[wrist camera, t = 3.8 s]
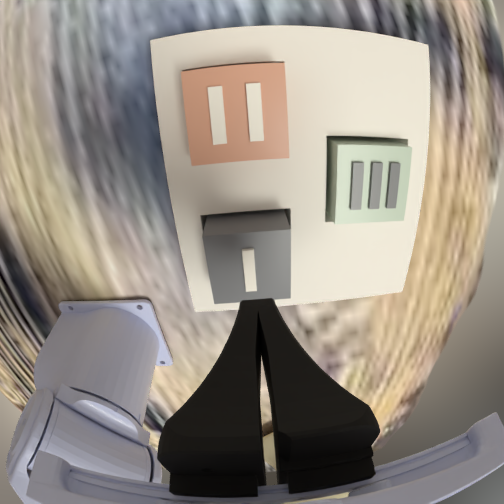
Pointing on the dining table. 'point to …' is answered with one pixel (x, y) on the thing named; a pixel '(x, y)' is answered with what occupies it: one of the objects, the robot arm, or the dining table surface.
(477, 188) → the dining table surface
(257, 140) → the key two
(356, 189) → the key three
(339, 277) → the key panel
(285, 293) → the key one
